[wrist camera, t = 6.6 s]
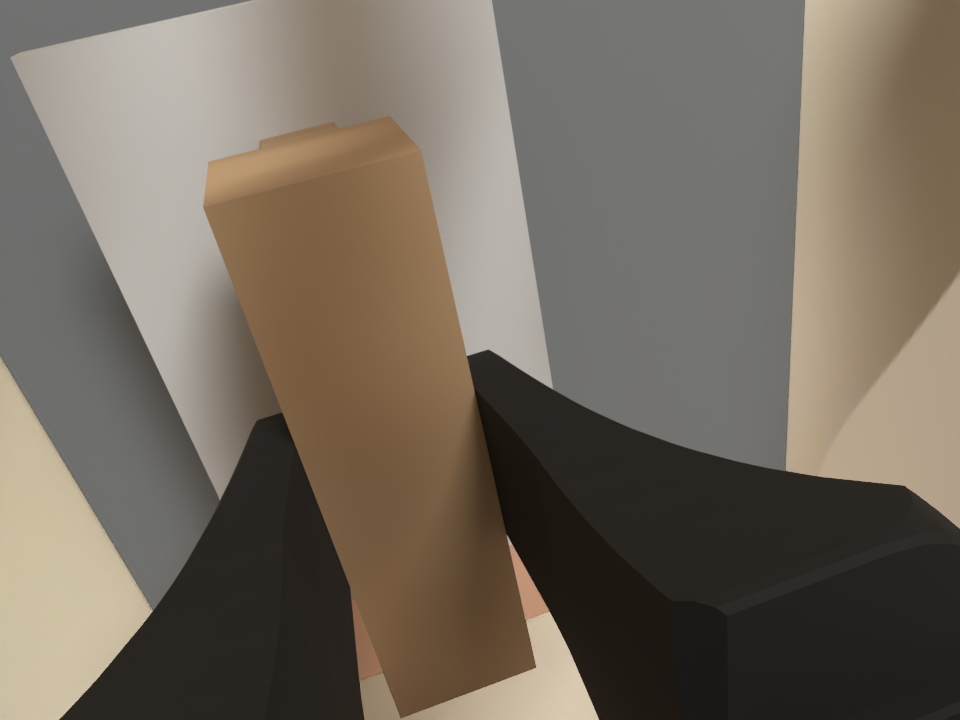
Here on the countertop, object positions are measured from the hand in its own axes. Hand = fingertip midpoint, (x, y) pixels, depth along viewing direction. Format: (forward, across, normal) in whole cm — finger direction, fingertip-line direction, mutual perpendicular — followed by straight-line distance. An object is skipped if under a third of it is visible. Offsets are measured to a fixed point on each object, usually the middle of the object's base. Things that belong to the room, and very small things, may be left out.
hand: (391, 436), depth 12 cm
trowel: (+3, 0, 0) cm, 3 cm away
